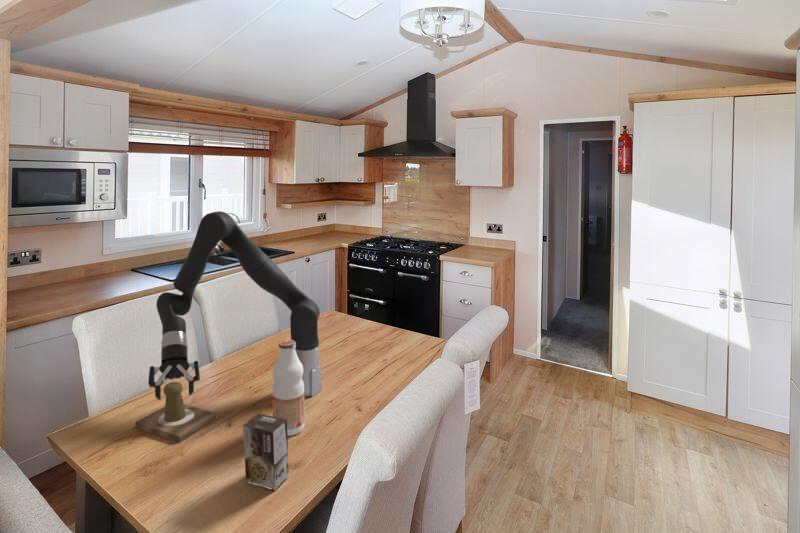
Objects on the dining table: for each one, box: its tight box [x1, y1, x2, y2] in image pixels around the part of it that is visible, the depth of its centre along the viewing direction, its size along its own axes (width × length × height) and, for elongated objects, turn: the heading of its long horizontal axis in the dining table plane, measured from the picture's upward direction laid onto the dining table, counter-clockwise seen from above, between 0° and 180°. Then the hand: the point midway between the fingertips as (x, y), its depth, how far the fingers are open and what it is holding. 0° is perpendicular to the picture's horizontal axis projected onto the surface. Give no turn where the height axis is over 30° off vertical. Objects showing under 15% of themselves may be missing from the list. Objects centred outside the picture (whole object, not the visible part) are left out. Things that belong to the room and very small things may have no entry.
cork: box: [163, 381, 186, 422], centre depth 137 cm, size 6×6×11 cm
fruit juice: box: [271, 339, 306, 437], centre depth 135 cm, size 9×9×28 cm
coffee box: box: [242, 413, 290, 489], centre depth 113 cm, size 9×6×16 cm
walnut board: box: [134, 404, 217, 443], centre depth 139 cm, size 18×14×2 cm
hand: (174, 396), depth 137 cm, fingers open, 8 cm apart
